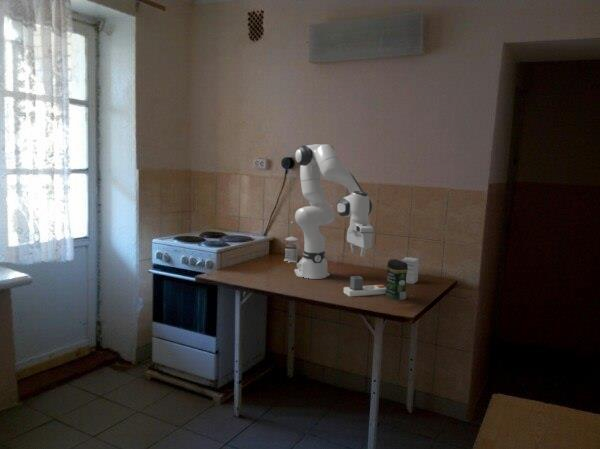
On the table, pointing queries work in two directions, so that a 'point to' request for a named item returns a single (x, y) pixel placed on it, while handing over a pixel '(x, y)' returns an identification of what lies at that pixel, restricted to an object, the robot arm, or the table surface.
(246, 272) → the table surface
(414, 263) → the supplement box
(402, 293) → the coffee jar
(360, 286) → the block
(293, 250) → the french press
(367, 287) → the power strip
